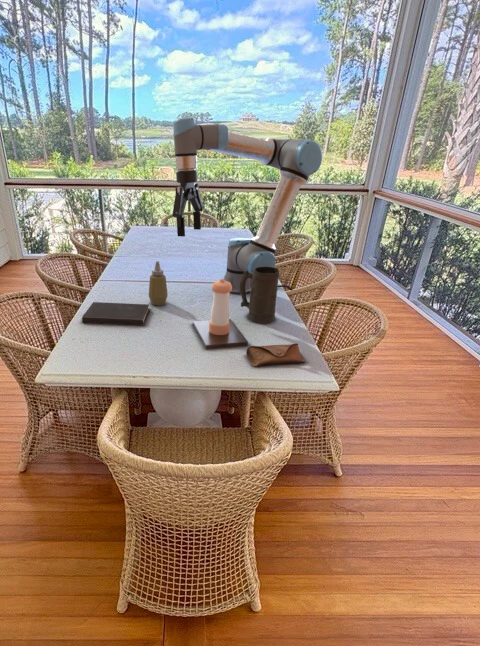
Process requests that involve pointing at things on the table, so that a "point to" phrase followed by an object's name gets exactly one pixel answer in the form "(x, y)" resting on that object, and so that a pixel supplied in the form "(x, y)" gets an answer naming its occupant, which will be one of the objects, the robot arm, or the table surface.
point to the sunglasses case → (274, 354)
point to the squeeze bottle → (157, 286)
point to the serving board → (219, 336)
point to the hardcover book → (116, 313)
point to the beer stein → (261, 294)
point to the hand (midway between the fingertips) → (189, 232)
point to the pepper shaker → (220, 308)
